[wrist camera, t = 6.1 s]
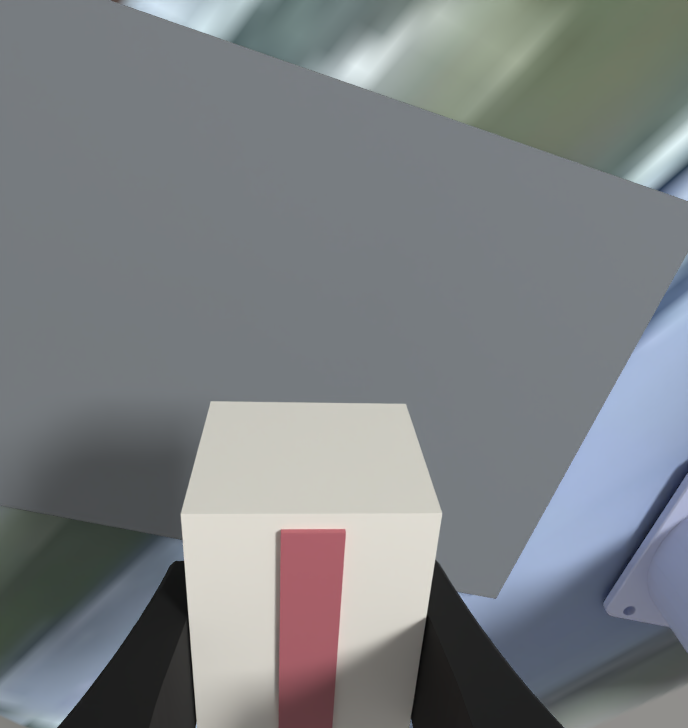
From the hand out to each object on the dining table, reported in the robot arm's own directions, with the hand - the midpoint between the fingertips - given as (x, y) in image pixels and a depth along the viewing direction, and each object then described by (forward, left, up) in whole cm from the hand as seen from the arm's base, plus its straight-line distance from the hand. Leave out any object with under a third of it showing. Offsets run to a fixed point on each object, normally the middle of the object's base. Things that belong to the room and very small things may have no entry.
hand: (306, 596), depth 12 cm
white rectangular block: (0, 0, -2) cm, 2 cm away
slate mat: (0, -1, -9) cm, 9 cm away
